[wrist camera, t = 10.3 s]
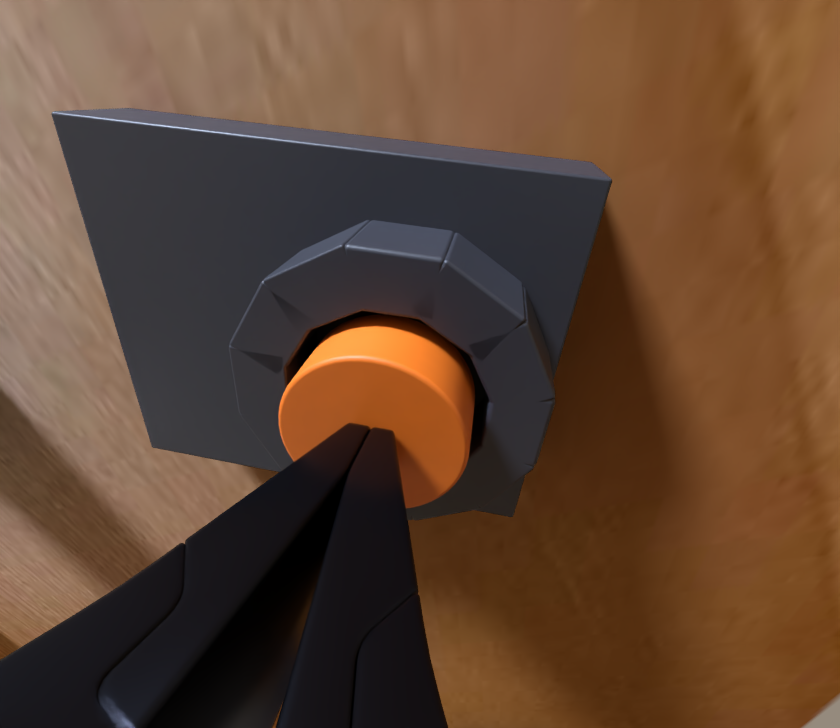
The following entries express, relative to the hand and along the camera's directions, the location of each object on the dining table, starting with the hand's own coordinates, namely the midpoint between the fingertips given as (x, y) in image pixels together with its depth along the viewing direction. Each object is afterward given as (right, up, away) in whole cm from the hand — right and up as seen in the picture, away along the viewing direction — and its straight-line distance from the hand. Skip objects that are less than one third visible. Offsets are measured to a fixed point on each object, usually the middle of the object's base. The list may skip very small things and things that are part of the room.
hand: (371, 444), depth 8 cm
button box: (-1, +3, +5) cm, 5 cm away
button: (0, +1, +1) cm, 2 cm away
